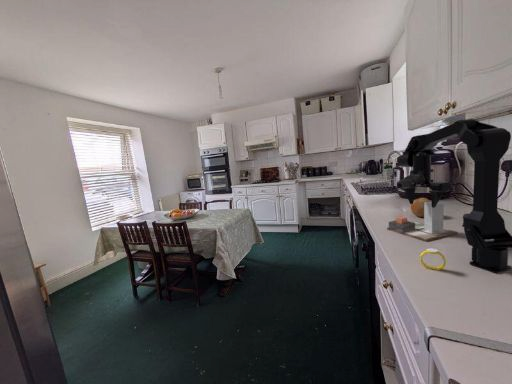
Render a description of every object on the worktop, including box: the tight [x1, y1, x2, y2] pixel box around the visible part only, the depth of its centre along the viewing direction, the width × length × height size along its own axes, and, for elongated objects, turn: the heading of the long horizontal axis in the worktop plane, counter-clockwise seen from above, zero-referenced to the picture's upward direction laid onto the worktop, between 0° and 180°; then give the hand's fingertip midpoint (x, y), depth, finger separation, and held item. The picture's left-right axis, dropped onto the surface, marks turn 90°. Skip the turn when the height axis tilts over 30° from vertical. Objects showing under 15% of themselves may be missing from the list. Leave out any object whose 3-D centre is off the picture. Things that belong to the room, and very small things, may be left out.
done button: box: [395, 216, 408, 224], centre depth 99 cm, size 3×3×3 cm
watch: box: [419, 247, 447, 271], centre depth 67 cm, size 6×3×6 cm, turn 53°
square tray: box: [386, 219, 459, 243], centre depth 96 cm, size 18×17×4 cm
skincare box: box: [423, 202, 445, 233], centre depth 93 cm, size 6×4×12 cm
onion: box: [410, 197, 431, 218], centre depth 116 cm, size 10×10×10 cm
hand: (421, 205), depth 90 cm, fingers open, 9 cm apart
